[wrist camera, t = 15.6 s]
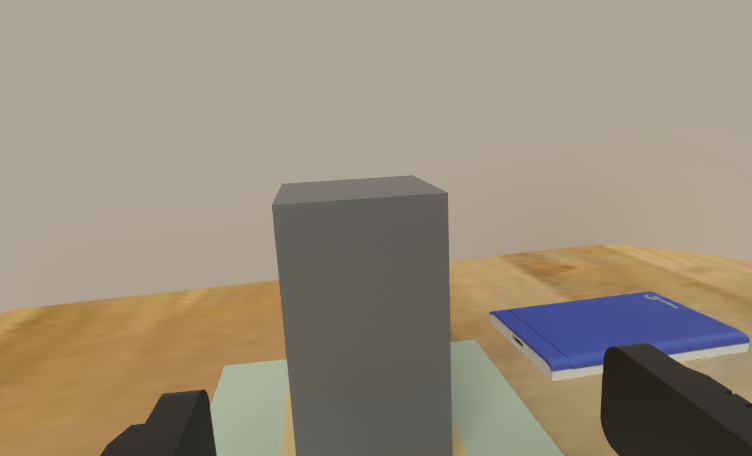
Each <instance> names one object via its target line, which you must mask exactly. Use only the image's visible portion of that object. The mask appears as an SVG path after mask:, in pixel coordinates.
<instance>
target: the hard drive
mask: <svg viewBox="0 0 752 456" xmlns="http://www.w3.org/2000/svg"><path fill="white" fill-rule="evenodd" d="M490 323H491V324H492V325H493V326H494V327H495V328H496V329H497V330H498V331H499V332H500V333H501V334H503V335H504V336H505V337H506V338H507V339H508V340H509V341H510V342H511V343H512V344H513V345H514V346H515V347H516V348H517V349H519V350H520V351H521V352H522V353H523V354H524V355H525V356H526V357H527V358H528V359H529V360H530V361H531V362H532V363H533V364H534V365H535V366H537V367H538V368H539V369H540V370H541V371H542V372H543V373H544V374H545V375H546V376H547V377H548V378H549V379H550V380H551V381H556V380H563V379H569V378H576V377H583V376H590V375H596V374H603V360H604V354H605V352H606V350H607V349H608V348H609V347H612V346H621V345H630V344H639V343H648V344H651V345H653V346H654V347H656V348H657V349H659V350H660V351H662V352H663V353H665V354H666V355H668V356H669V357H671V358H673V359H674V360H676V361H677V362H681V361H688V360H694V359H701V358H707V357H714V356H720V355H727V354H733V353H740V352H746V351H748V350H749V337H748V336H747V335H746V334H744V333H743V332H742V331H740V330H737V329H735V328H733V327H731V326H728V325H726V324H724V323H722V322H719V321H717V320H715V319H713V318H711V317H708V316H706V315H704V314H701V313H699V312H697V311H695V310H692V309H690V308H688V307H685V306H683V305H681V304H679V303H677V302H674V301H672V300H670V299H668V298H665V297H663V296H661V295H658V294H656V293H654V292H642V293H634V294H626V295H619V296H611V297H603V298H595V299H587V300H580V301H571V302H563V303H555V304H547V305H539V306H532V307H524V308H516V309H509V310H501V311H493V312H490Z"/></svg>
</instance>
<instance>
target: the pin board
mask: <svg viewBox="0 0 752 456" xmlns="http://www.w3.org/2000/svg"><path fill="white" fill-rule="evenodd" d="M450 346H451V402H452V456H564V455H563V454H562V452H561V451H560V450H559V448H558V447H557V446H556V444H555V443H554V442H553V440H552V439H551V438H550V437H549V435H548V434H547V433H546V431H545V430H544V429H543V427H542V426H541V425H540V424H539V422H538V421H537V420H536V418H535V417H534V416H533V414H532V413H531V412H530V410H529V409H528V408H527V407H526V405H525V404H524V403H523V401H522V400H521V399H520V397H519V396H518V395H517V393H516V392H515V391H514V390H513V388H512V387H511V386H510V384H509V383H508V382H507V380H506V379H505V378H504V376H503V375H502V374H501V373H500V371H499V370H498V369H497V367H496V366H495V365H494V363H493V362H492V361H491V360H490V358H489V357H488V356H487V354H486V353H485V352H484V350H483V349H482V348H481V346H480V345H479V344H478V343H477V341H476V340H466V341H456V342H450ZM210 410H211V418H212V425H213V432H214V439H215V447H216V454H217V456H296V450H295V439H294V429H293V419H292V408H291V398H290V387H289V377H288V366H287V359H285V360H275V361H266V362H256V363H247V364H237V365H228V366H224V369H223V372H222V375H221V378H220V380H219V383H218V386H217V389H216V391H215V394H214V397H213V400H212V402H211V405H210Z"/></svg>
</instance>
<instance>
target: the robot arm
mask: <svg viewBox="0 0 752 456" xmlns="http://www.w3.org/2000/svg"><path fill="white" fill-rule="evenodd" d="M601 424H602V428H603V431H604V434H605V436H606V439H607V441H608V442H609V444H610V446H611V447H612V448H613V449H614V450H615V452H616V453H617V454H618V455H619V456H752V404H751V403H750V402H748V401H747V400H745V399H744V398H742V397H740V396H739V395H737V394H732V391H731V390H729V389H728V388H726V387H725V386H723V385H722V384H720V383H718V382H717V381H715V380H714V379H712V378H711V377H709V376H707V375H705V374H702V373H700V372H697V371H695V370H692V369H690V368H687V367H685V366H683V365H682V364H680V363H679V362H677V361H676V360H674V359H673V358H671V357H669V356H668V355H666V354H665V353H663V352H662V351H660V350H659V349H657V348H656V347H654V346H653V345H651V344H648V343H639V344H630V345H621V346H612V347H609V348H608V349H607V350H606V352H605V354H604V360H603V378H602V396H601ZM100 456H217V454H216V447H215V439H214V432H213V425H212V418H211V410H210V403H209V398H208V394H207V392H206V391H205V390H195V391H185V392H176V393H167V394H163V395H162V396H161V397H160V399H159V400H158V402H157V404H156V406H155V407H154V409H153V411H152V413H151V414H150V416H149V418H148V420H147V421H146V423H145V424H138V425H131V426H130V427H129V428H127V429H126V430H125V431H124V432H122V433H121V434H120V435H119V436H118V437H116V438H115V439H114V440H113V441H112V442H110V443H109V444H108V445H107V446H106V448H105V449H104V451H103V452H102V454H101V455H100Z"/></svg>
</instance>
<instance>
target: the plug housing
mask: <svg viewBox="0 0 752 456" xmlns="http://www.w3.org/2000/svg"><path fill="white" fill-rule="evenodd" d="M272 210H273V221H274V231H275V241H276V251H277V262H278V273H279V283H280V294H281V304H282V314H283V325H284V335H285V346H286V356H287V366H288V377H289V387H290V398H291V408H292V419H293V429H294V439H295V450H296V456H452V402H451V346H450V290H449V240H448V239H449V236H448V235H449V234H448V193H447V192H445V191H443V190H441V189H439V188H437V187H435V186H433V185H430V184H429V183H426V182H424V181H422V180H420V179H418V178H416V177H414V176H398V177H382V178H367V179H351V180H335V181H320V182H304V183H289V184H282V185H281V187H280V189H279V191H278V194H277V196H276V198H275V200H274V202H273V204H272Z"/></svg>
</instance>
